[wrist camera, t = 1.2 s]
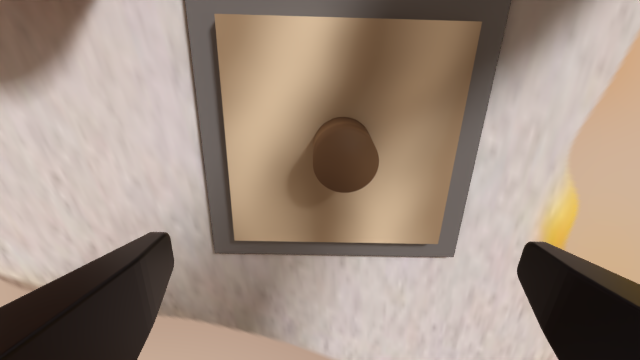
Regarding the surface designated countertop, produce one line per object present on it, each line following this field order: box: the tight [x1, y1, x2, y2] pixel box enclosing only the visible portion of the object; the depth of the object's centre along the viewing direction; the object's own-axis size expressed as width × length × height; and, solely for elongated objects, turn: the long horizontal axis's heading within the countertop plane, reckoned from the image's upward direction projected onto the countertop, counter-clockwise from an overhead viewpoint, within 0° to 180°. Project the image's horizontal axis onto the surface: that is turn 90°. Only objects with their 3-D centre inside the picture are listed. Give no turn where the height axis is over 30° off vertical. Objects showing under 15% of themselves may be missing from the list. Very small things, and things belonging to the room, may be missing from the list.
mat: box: [185, 0, 511, 257], centre depth 19 cm, size 15×15×1 cm
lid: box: [214, 14, 482, 244], centre depth 17 cm, size 12×12×3 cm
